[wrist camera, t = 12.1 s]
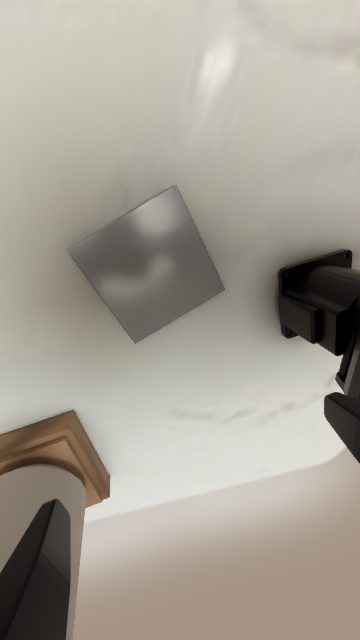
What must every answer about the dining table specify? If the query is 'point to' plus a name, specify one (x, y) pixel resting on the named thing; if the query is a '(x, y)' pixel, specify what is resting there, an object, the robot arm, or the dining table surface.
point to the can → (24, 502)
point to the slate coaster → (149, 265)
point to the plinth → (57, 452)
